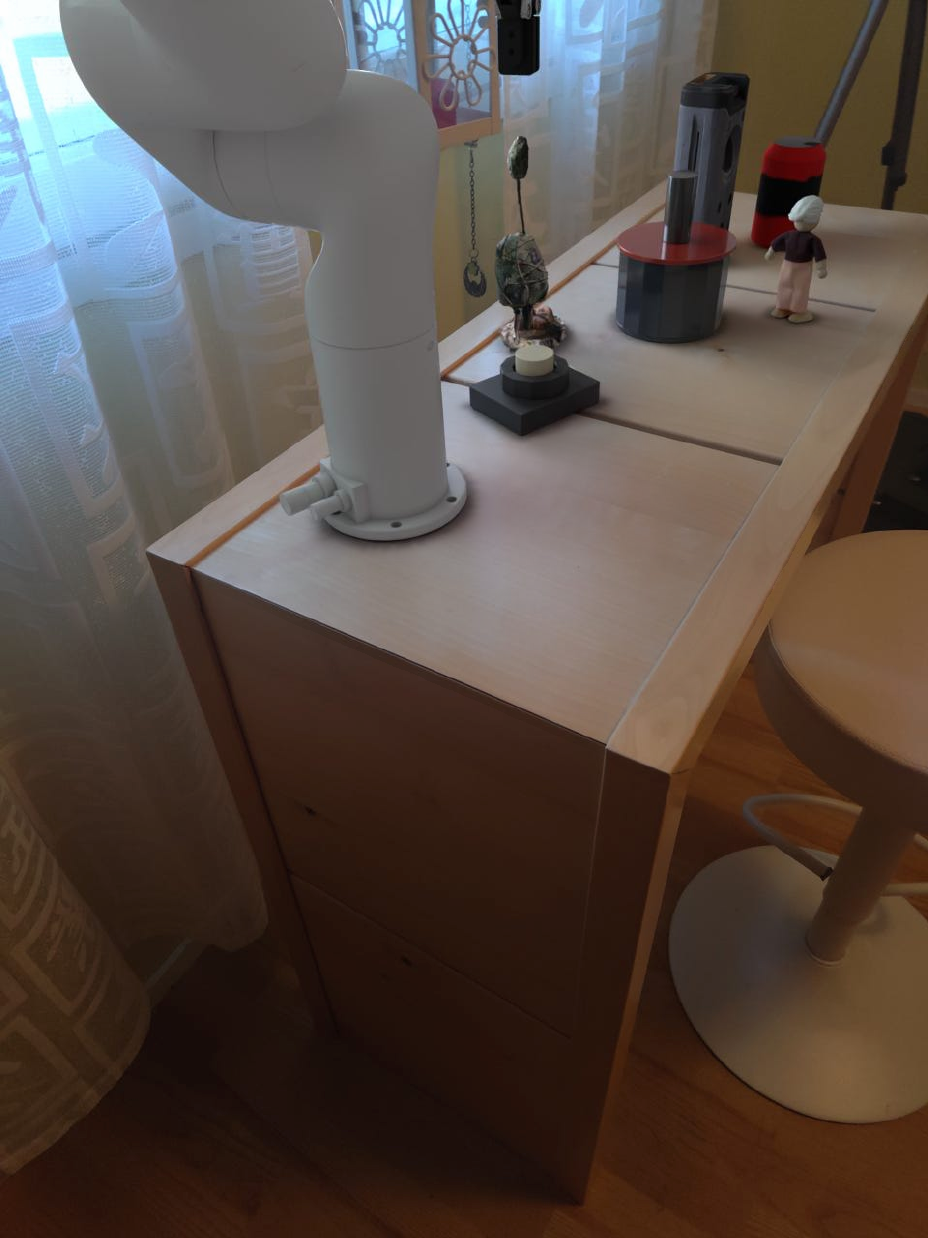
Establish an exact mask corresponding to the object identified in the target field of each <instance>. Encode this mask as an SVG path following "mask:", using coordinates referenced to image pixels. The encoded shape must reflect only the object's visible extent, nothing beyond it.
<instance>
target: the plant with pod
mask: <svg viewBox="0 0 928 1238" xmlns="http://www.w3.org/2000/svg"><path fill="white" fill-rule="evenodd" d="M529 150H530V148H529V144H528V140H527V137H525V136H523V135H517V137H516V139H515V140H514V141H513V143H512V144H511V146H510V148H509V150H508V152H507V159H506V163H507V169H508V172H509V175H510V177H511V178H512V179H513V180H516V192H517V199H518V200H517V203H518V206H519V207H518V210H519V218H520V225H521V231H520V230H519V231H517V232H515V233H509V234H507V235H506V236H504V237H503V238H501V240H500V241H499V242H498V243H497V244H496V248H495V257H494V258H495V259H494V267H493V268H494V269H493V271H494V276H495V280H496V292H497V295H498V302H499V304H500V305H502V306H503V307H509V308H511V309H512V310H513V314H514V315H513V316H514V317H513V318H512V319H511V321H510V322H508V323H507V324H504V325H503V326H501V327H500V330H499V329H498V330H497V332H498V334H499V336H500V339H501V341H502V343H503V345H505V347H506V348H508V349H511V350H514V351H517V350H518V349H520V348H522V347H524V346H529V345H542V346H546V347H549V348H551V349H552V350H553V351H554V350H555V349H556V348H559V347H560V345H561V343H562V342H563V340H565V337H567V336H568V335H566V332H565V331H566V329H565V327H566V326H567V325H566V324H565V321H564V320H562V319H561V317H558V316H557V315H554V312H553V310H552V309H551V307H550V306H549V305H541V306H539V308H538V309H534V306H536V304H537V303H543V302H545V301H546V299H547V297H548V293H549V287H550V285H549V271H547V268H546V264H545V259H543V256H542V253H541V250H540V248H539V246H538V245H537V242H536V240H535V237H533V236H532V235H530V234H528V233H527V234H526V231H525V221H524V213H523V206H522V194H521V189H522V188H521V184H522V183H521V180H522V179H525V178H526V176H527V174H528V171H529V170H528V169H529ZM492 240H493V241H496V239H495V238H492Z"/></svg>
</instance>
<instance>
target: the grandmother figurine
mask: <svg viewBox="0 0 928 1238" xmlns="http://www.w3.org/2000/svg"><path fill="white" fill-rule="evenodd" d="M824 203H825V202H824V201H823V199H822V198H821V197H820V196H818V197H817V196H815V195H811V196H807V197H804V198H802V199H801V200H799V201H798V202H797V203H796V204H795V206H794V207H793V208H792V210H791V212H790V214H788V216H789V219H790V220H791V221H793V222H794V225H795V227H796V229H797V230H791V231H788V232H785V233H783V234H781V235H780V236H778V237H777V238H776V239H774V240H773V241H772V242H771V247H770V248H768V251H767V252H766V254H765V255H764V259H765V260H766V261H767V262H772V261H773V260H774V259H775V257H776V255H778V253H784V252H785V254H784V257H783V260H782V261H783V262H782V266H781V269H780V273H779V278H778V283H777V293H776V299H775V307H776V308H775V309H774V310H773V311H772V312H771V316H772V317H774V318H778V319H782V318H786V317H788V316H789V317H788V318H787V319H788V321H789V322H790V323H791V322H792V323H794V324H799V323H805V322H810V321H813V313H812V312H811V311H810V310H809V309H808V306H809V298H810V289H811V283H812V278H813V271H814V270H813V269H814V267H813V266H814V265H813V264H814V263H815V266H816V267H815V268H816V270H817V274H816V277H817V278H818V279H820V280H822V279H825V278H827V277H828V275H829V274H828V273H829V272H828V270H827V266H828V263H827V258H828V256H827V253H826V250H825V247H824V243H823V241H822V239H821V238H820V237H819V236H817V235H816V234H815V233H813V230H815V229H816V228H817V227H818V225H819V223H820V219H821V216H822V213H823V212H824V205H825V204H824ZM810 231H811V232H810Z"/></svg>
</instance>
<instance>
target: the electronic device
mask: <svg viewBox="0 0 928 1238" xmlns="http://www.w3.org/2000/svg"><path fill="white" fill-rule="evenodd" d="M750 82H751V78H750V77H749V76H748V74H746V73H741V72H721V71H709V72H705V73H703V74H700V75H699V76H697V77H695V78H694V79H692V80H690V81H688V82H687V83H685V84H684V85H682V87H681V91H680V100H679V109H678V120H677V129H676V130H677V133H676V141H675V150H674V151H675V152H674V160H673V161H674V162H673V170H672V172H673V171H677V170H690V171H694V172H697V173H698V182H697V191H696V200H695V208H694V217H693V222H699V223H705V224H710V225H714V226H718V227H721V228H723V229H725V230H727V231H729V230H730V223H731V216H732V215H731V214H732V208H733V201H734V195H735V186H736V181H737V180H736V179H737V173H738V167H739V159H740V153H741V147H742V146H741V145H742V140H743V133H744V132H743V131H744V124H745V119H746V110H747V104H748V98H749V97H748V96H749V89H750V85H751V84H750Z"/></svg>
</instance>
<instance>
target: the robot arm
mask: <svg viewBox="0 0 928 1238" xmlns="http://www.w3.org/2000/svg"><path fill="white" fill-rule="evenodd" d="M542 1H543V0H493V4H494V16H495V19H496V29H497V30H496V37H497V39H496V40H497V43H496V45H497V71H498V73H499V75H501V76H523V77H527V76H528V77H529V76H532V75H534V74H535V73H538V71H539V70H540V67H541V15H540V14H541V12H542ZM58 9H59V11H58V12H59V21H60V27H61V32H62V36H63V41H64V44H65V47H66V51H67V54H68V55H69V58H70V61H71V63H72V65H73V68H74V70H75V72H76V74H77V75H78V77H79V79H80V81H81V82H82V84H83V86H84V88H85V90H86V91H87V92H88V94H89V96H90V97H91V98H92V100H93V101H94V102H95V103H96V105H97V106H98V107H99V108H100V109H101V110H102V111H103V113H104V114H105V115H106V116H107V117H108V119H110V120H111V121H112V122H113V123H114V124H115V125H116V126H117V127H118V128H119V129H120V130H122V131H123V132H124V133H125V134H126V135H127V136H128V137H129V138H130V139H132V140H133V141H134V142H135V143H136V144H137V145H139V146H140V147H141V148H142V149H143V150H144V151H145V152H146V153H148V155H150V156H151V157H152V158H153V159H154V160H155V161H157V162H158V163H159V165H161V166H162V167H164V169H165V170H167V172H169V173H170V174H171V175H172V176H174V177H175V178H176V179H177V180H178V181H179V182H180V183H182V184H183V185H184V186H185V187H186V188H187V189H189V191H191V192H192V193H193V194H195V196H196V197H198V198H199V199H200V200H202V201H203V202H204V203H206V204H207V205H209V206H210V207H212V209H215V210H216V211H218V212H220V213H222V214H223V215H226V216H229V217H231V218H233V219H237V220H242V221H248V222H253V223H259V224H267V225H273V226H274V225H275V226H282V227H288V228H289V227H291V228H298V229H303V230H306V231H307V230H308V231H313V232H317V233H319V234H320V235H321V238H322V242H321V248H320V250H319V251H320V252H319V254H318V256H317V258H316V261H315V263H314V265H313V266H312V268H311V271H310V273H309V275H308V278H307V280H306V283H305V288H304V296H303V297H304V300H303V301H304V313H305V320H306V325H307V331H308V336H309V343H310V348H311V355H312V359H313V360H312V361H313V366H314V373H315V379H316V384H317V390H318V396H319V401H320V407H321V413H322V418H323V419H322V420H323V425H324V430H325V431H324V432H325V436H326V443H327V449H328V454H329V456H327V457H324V458H321V459H320V460H318V465H319V470H320V473H318V474H316V475H313V476H312V478H311V481H310V482H308V483H306V484H303V485H299V486H296V487H294V488H291V489H289V490H286V491H284V492H281V493H280V494H279V502H280V505H281V507H282V509H283V511H284V513H285V514H286V515H287V516H290V517H291V516H294V515H296V514H298V513H300V512H303V511H305V510H308V509H309V513H310V514H311V517H312V518H313V519H314V521H317V522H318V521H320V520H323V519H324V520H325V521H326V523H327V524H329V525H330V526H331V527H332V528H333V529H335V530H336V531H339V532H340V533H343V534H346V535H348V536H351V537H353V538H358V539H362V540H368V541H369V540H370V541H387V542H388V541H397V540H407V539H411V538H416V537H419V536H422V535H425V534H428V533H429V534H430V533H431V532H433V531H435V530H437V529H440V528H442V527H443V526H445V525H446V524H448V523H449V522H451V521H452V520H453V519H454V518H455V517H456V516H457V515H459V513H461V510H462V509H463V507H464V506H465V504H466V501H467V498H468V492H467V490H468V487H467V480H466V477H465V475H464V473H463V471H462V470H461V469H460V468H459V467H458V466H457V465H456V464H455V463H453V462H451V461H449V460H448V459H447V449H446V437H445V435H446V434H445V422H444V410H443V409H444V408H443V395H442V393H443V392H442V380H441V378H442V377H441V365H440V352H439V351H440V350H439V338H438V337H439V335H438V321H437V307H436V294H435V293H436V292H435V273H434V234H435V233H434V232H435V231H434V230H435V216H436V215H435V214H436V203H437V194H438V187H439V186H438V185H439V176H440V167H441V166H440V165H441V163H440V162H441V141H440V140H441V139H440V134H439V133H440V132H439V128H438V124H437V120H436V118H435V114H434V113H433V111H432V108H431V107H430V105H429V104H428V102H427V101H426V99H425V98H424V97H423V96H422V95H421V94H420V92H418V91H417V90H416V89H414V87H412V86H411V85H409V84H408V83H406V82H405V81H403V80H401V79H398V78H396V77H394V76H391V75H388V74H384V73H380V72H376V71H371V70H362V69H348V49H347V41H346V37H345V32H344V29H343V26H342V23H341V20H340V18H339V15H338V12H337V10H336V9H335V6H334V4H333V2H332V1H331V0H58Z"/></svg>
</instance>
